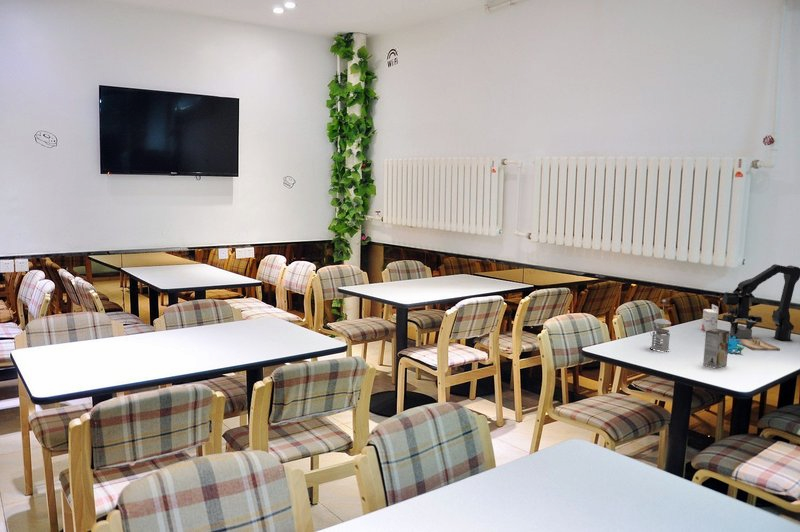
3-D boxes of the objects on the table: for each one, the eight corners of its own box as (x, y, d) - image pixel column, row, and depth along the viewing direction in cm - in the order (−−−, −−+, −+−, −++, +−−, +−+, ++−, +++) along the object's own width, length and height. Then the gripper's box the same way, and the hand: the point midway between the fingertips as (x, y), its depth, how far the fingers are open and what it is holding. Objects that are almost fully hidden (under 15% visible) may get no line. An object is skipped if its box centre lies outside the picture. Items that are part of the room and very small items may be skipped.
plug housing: (740, 334, 355) (741, 325, 354) (751, 339, 345) (752, 329, 344) (729, 334, 354) (730, 325, 354) (740, 338, 345) (741, 329, 344)
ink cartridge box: (700, 329, 367) (703, 303, 365) (709, 329, 367) (712, 303, 365) (707, 333, 359) (710, 306, 357) (716, 333, 359) (719, 306, 357)
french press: (659, 352, 314) (663, 301, 311) (642, 346, 325) (646, 297, 322) (675, 351, 318) (679, 300, 315) (657, 345, 329) (661, 296, 325)
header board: (758, 341, 343) (759, 334, 343) (779, 350, 325) (780, 343, 325) (732, 340, 342) (733, 334, 342) (752, 350, 325) (753, 343, 324)
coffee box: (713, 362, 301) (716, 328, 299) (726, 365, 296) (730, 331, 293) (702, 365, 295) (705, 330, 293) (716, 368, 290) (719, 333, 288)
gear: (715, 347, 320) (724, 332, 323) (716, 354, 324) (725, 338, 327) (738, 355, 313) (747, 339, 316) (739, 362, 316) (748, 346, 320)
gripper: (752, 303, 356) (749, 331, 358) (718, 302, 355) (715, 330, 357) (764, 307, 345) (761, 336, 347) (729, 306, 344) (726, 335, 346)
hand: (740, 334), depth 349 cm, fingers closed on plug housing, 6 cm apart
